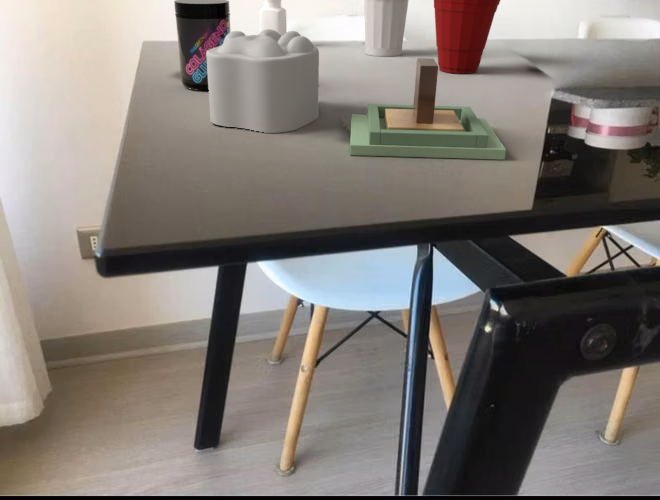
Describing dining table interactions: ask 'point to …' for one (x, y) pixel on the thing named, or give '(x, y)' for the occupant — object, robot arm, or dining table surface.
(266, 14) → the pepper shaker
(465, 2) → the plastic cup
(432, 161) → the dining table surface
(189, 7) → the supplement container
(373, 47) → the cup
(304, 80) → the lumpy-topped squat cylinder
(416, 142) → the base pad
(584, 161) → the dining table surface
